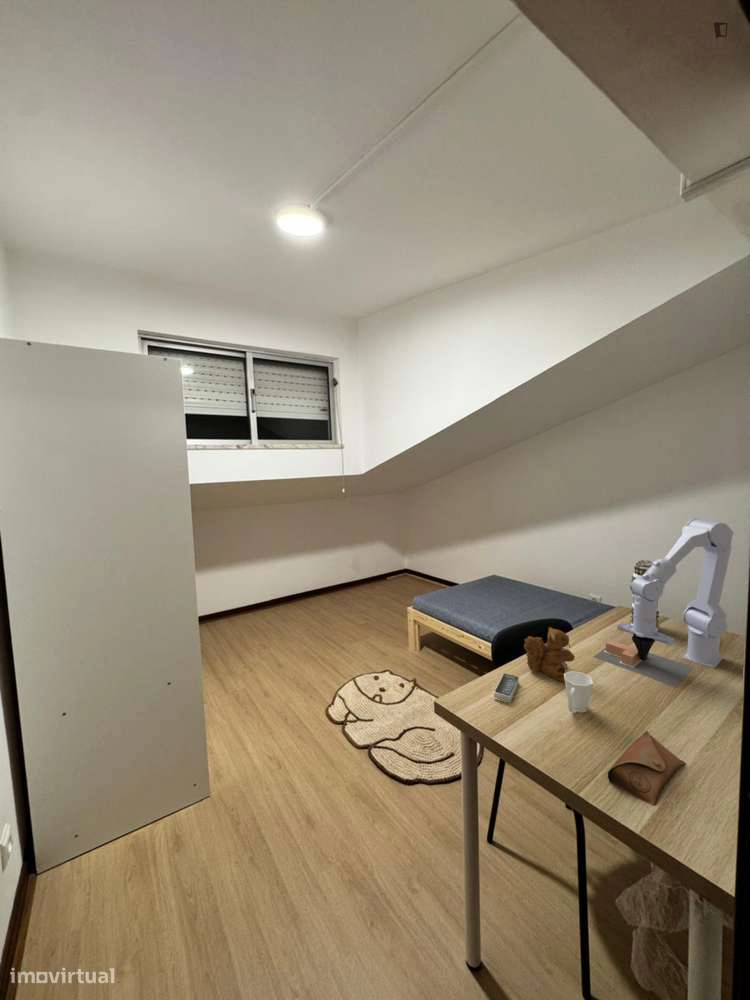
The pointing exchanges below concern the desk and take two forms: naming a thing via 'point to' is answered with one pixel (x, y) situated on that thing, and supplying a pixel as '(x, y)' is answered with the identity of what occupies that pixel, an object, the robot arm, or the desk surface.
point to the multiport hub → (506, 687)
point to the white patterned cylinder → (638, 572)
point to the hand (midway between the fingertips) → (643, 659)
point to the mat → (652, 667)
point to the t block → (623, 652)
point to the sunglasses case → (645, 769)
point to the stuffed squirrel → (549, 654)
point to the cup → (578, 691)
